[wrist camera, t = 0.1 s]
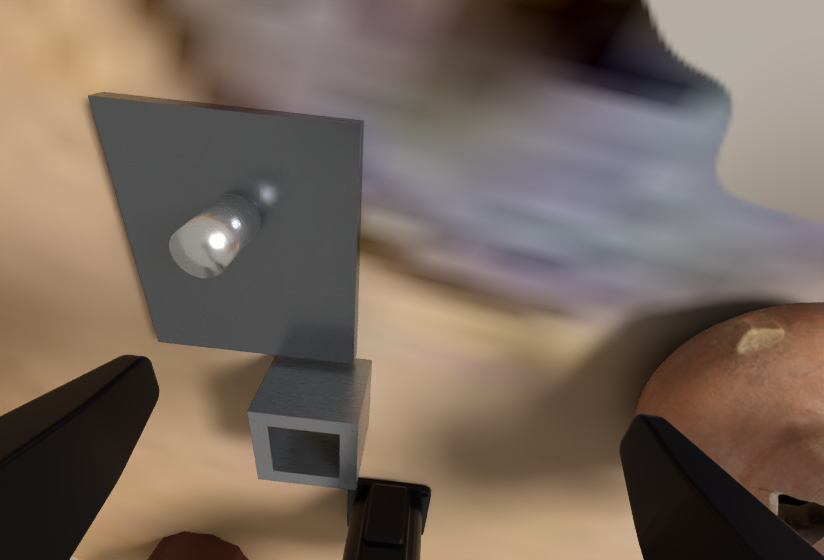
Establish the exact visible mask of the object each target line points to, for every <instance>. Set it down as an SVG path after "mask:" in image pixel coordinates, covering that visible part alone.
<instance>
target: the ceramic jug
mask: <svg viewBox="0 0 824 560" xmlns="http://www.w3.org/2000/svg"><path fill="white" fill-rule="evenodd" d="M640 413H642V414H651V415H658V416H661V417H663V418H665V419H666V420H667V421H668V422H670V423H671V424H672V425H673V426H674V427H675V428H676V429H678V430H679V431H680V432H681V433H682V434H683V435H685V436H686V437H687V438H688V439H689V440H690V441H691V442H693V443H694V444H695V445H696V446H697V447H698V448H700V449H701V450H702V451H703V452H704V453H705V454H707V455H708V456H709V457H710V458H711V459H712V460H713V461H715V462H716V463H717V464H718V465H719V466H720V467H722V468H723V469H724V470H725V471H726V472H727V473H728V474H730V475H731V476H732V477H733V478H734V479H735V480H737V481H738V482H739V483H740V484H741V485H742V486H744V487H745V488H746V489H747V490H748V491H749V492H750V493H752V494H753V495H754V496H755V497H756V498H757V499H759V500H760V501H761V502H762V503H763V504H764V505H765V506H767V507H768V508H769V509H770V510H771V511H772V512H774V513H775V514H776V515H777V516H778V517H779V518H781V519H782V520H783V521H784V522H785V523H786V524H787V525H789V526H790V527H791V528H792V529H793V530H794V531H796V532H797V533H798V534H799V535H800V536H801V537H802V538H804V539H805V540H806V541H807V542H808V543H809V544H811V545H812V546H813V547H814V548H815V549H816V550H818V551H819V552H820V553H821V554H822V555H823V556H824V303H823V302H822V303H795V304H786V305H780V306H774V307H768V308H763V309H758V310H754V311H751V312H747V313H744V314H741V315H738V316H736V317H733V318H730V319H728V320H725V321H723V322H721V323H718V324H716V325H714V326H712V327H710V328H708V329H706V330H704V331H702V332H701V333H699V334H697V335H696V336H694V337H692V338H691V339H690V340H688V341H687V342H685V343H684V344H682V345H681V346H680V347H678V348H677V349H676V350H675V351H674V352H673V353H672V354H671V355H670V356H668V357H667V358H666V359H665V360H664V361H663V362H662V363H661V365H660V366H659V367H658V368H657V369H656V370H655V372H654V373H653V374H652V376H651V377H650V379H649V380H648V382H647V384H646V385H645V387H644V389H643V391H642V393H641V396H640V398H639V401H638V405H637V409H636V415H637V414H640ZM636 415H635V416H636Z"/></svg>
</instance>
